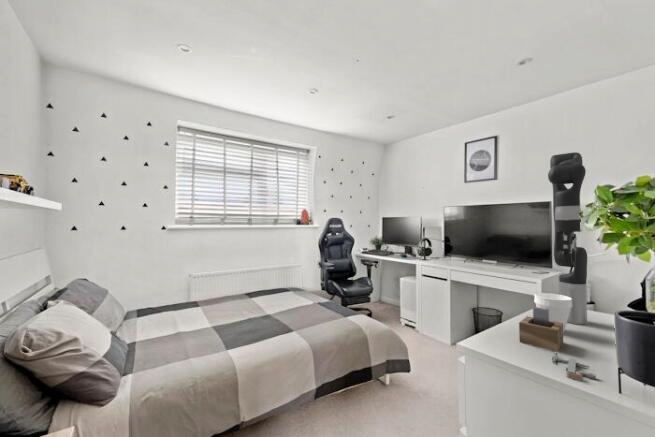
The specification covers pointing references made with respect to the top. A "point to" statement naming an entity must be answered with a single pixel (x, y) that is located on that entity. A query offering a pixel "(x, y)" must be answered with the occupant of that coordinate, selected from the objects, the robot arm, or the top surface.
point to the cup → (555, 306)
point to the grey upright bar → (541, 316)
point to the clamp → (571, 369)
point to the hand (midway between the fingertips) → (569, 262)
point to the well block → (541, 334)
